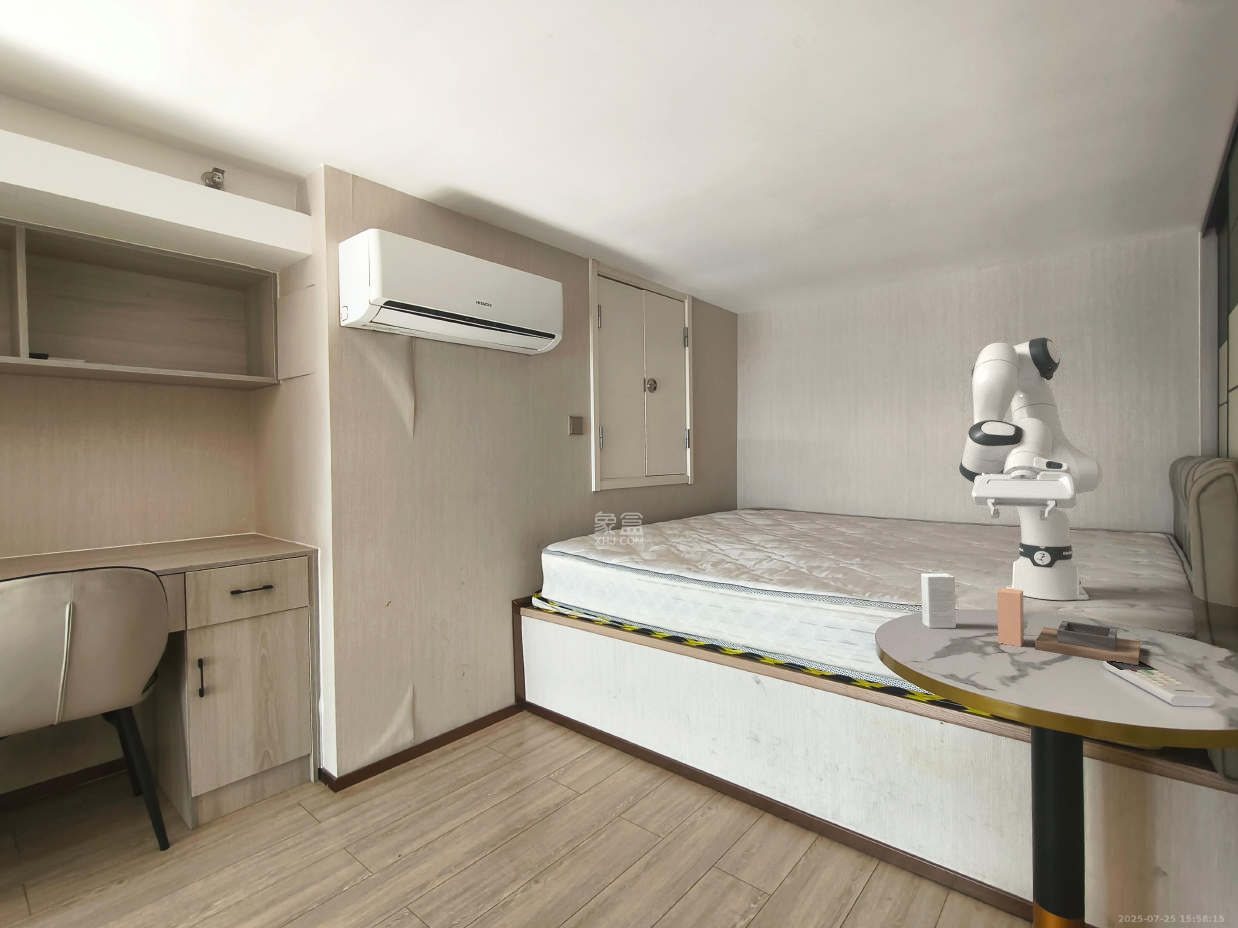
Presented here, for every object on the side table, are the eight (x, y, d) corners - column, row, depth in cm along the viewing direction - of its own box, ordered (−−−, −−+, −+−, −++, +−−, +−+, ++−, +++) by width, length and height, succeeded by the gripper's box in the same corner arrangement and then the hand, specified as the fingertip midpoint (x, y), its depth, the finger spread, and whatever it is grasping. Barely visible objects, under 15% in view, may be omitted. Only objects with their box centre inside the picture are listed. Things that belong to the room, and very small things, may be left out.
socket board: (1044, 633, 133) (1043, 615, 132) (1139, 648, 122) (1139, 628, 122) (1035, 648, 123) (1034, 629, 123) (1138, 666, 112) (1138, 645, 112)
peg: (1001, 638, 130) (1001, 587, 130) (1023, 641, 128) (1023, 590, 127) (998, 642, 127) (997, 591, 127) (1020, 646, 125) (1020, 594, 124)
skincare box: (947, 623, 142) (947, 572, 142) (956, 628, 138) (955, 576, 138) (921, 623, 143) (920, 572, 143) (928, 628, 139) (927, 576, 138)
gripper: (973, 464, 149) (964, 507, 142) (1077, 463, 135) (1072, 510, 128) (978, 481, 152) (969, 523, 145) (1079, 482, 138) (1075, 529, 131)
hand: (1018, 517), depth 136 cm, fingers open, 8 cm apart
